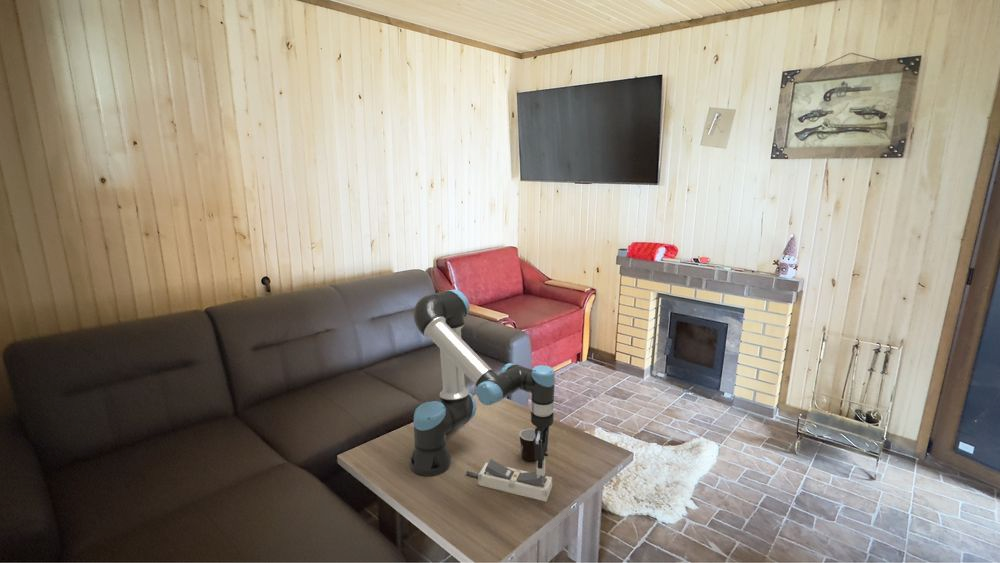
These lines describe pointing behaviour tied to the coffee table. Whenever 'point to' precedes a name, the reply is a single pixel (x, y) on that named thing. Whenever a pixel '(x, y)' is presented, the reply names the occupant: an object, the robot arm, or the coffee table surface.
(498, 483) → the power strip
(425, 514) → the coffee table surface
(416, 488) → the coffee table surface
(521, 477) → the rocker
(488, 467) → the rocker
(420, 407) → the robot arm
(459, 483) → the coffee table surface
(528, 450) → the coffee mug
